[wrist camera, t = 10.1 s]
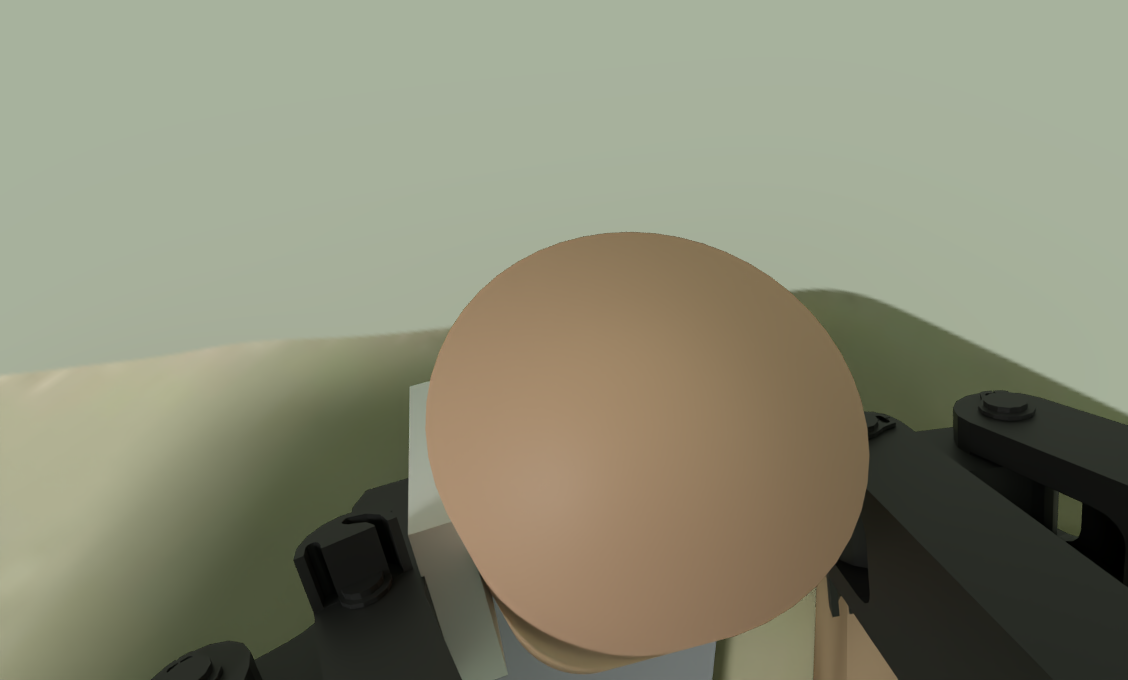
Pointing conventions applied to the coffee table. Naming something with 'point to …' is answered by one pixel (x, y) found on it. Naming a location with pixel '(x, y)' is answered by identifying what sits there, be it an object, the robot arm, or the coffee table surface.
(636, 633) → the terracotta peg
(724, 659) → the coffee table surface
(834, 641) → the walnut puzzle board
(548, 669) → the grey rubber mat
